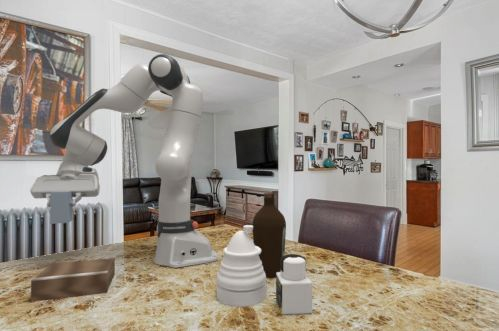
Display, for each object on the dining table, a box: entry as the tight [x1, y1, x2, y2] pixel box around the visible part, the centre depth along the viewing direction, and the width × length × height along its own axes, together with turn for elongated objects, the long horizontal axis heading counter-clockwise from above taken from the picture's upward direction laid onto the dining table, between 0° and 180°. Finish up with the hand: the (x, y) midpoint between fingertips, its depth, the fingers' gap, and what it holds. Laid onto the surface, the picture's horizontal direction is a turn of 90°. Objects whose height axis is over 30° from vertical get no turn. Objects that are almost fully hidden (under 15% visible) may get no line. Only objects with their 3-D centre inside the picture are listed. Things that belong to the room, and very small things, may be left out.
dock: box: [30, 257, 116, 302], centre depth 80 cm, size 17×14×5 cm
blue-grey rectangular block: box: [49, 191, 74, 225], centre depth 95 cm, size 5×5×10 cm
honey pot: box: [216, 224, 267, 308], centre depth 75 cm, size 13×13×18 cm
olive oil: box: [252, 192, 287, 278], centre depth 91 cm, size 11×11×25 cm
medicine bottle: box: [275, 253, 313, 315], centre depth 68 cm, size 7×7×12 cm
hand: (61, 205), depth 94 cm, fingers closed on blue-grey rectangular block, 5 cm apart
